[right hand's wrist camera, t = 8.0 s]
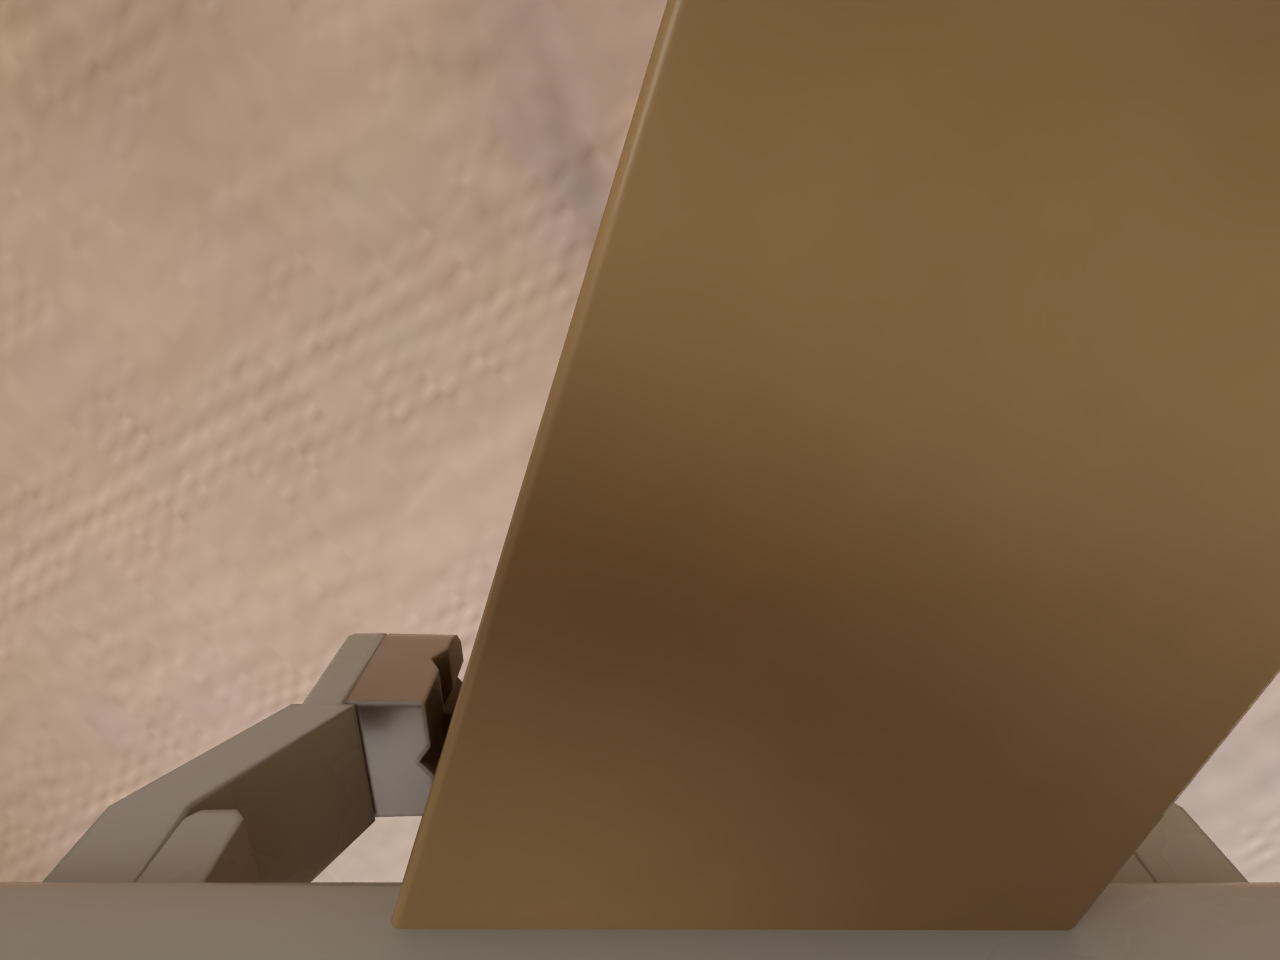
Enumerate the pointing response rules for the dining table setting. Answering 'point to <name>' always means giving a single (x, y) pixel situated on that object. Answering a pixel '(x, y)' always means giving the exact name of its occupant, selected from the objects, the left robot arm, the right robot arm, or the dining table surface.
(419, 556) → the dining table surface
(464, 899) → the bar
